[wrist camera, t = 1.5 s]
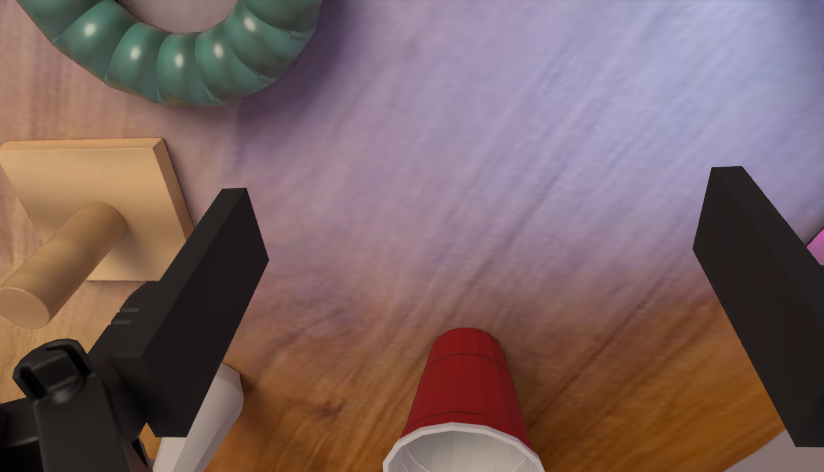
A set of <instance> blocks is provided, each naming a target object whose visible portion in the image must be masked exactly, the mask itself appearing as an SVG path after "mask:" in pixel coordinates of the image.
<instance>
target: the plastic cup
mask: <svg viewBox="0 0 824 472" xmlns="http://www.w3.org/2000/svg"><path fill="white" fill-rule="evenodd" d="M383 472H545V471H544V469H543V466H542V464H541V462H540V459H539V457H538V455H537V454H535V453H534V451H533V448H532V445H531V442H530V439H529V437H528V435H527V431H526V428H525V424H524V420H523V417H522V413H521V410H520V406H519V403H518V399H517V395H516V392H515V388H514V385H513V381H512V379H511V377H510V375H509V371H508V368H507V364H506V360H505V356H504V354H503V352H502V350H501V347H500V346H499V343H498V341H497V340H496V339H494V338H493V337H492V336H491V335H490V334H489V333H486V332H483V331H481V330H478V329H472V328H459V329H454V330H450V331H448V332H446V333H444V334H443V335H441V336H440V337H438V339H437V340H436V342H435V343H434V345H433V347H432V349H431V350H430V353H429V356H428V360H427V363H426V367H425V370H424V373H423V375H422V376H421V379H420V382H419V386H418V389H417V392H416V395H415V398H414V401H413V405H412V408H411V411H410V414H409V417H408V420H407V424H406V427H405V428H404V430H403V432H402V435H401V438H400V439H399V440H398V441H397V442H396V444H395V445H394V447H393V448H392V450H391V451H390V453H389V454H388V456H387V457H386V459H385V460H384V462H383Z"/></svg>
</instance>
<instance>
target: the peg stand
mask: <svg viewBox="0 0 824 472" xmlns="http://www.w3.org/2000/svg"><path fill="white" fill-rule="evenodd" d="M0 165H1V166H2V168H3V170H4V172H5V174H6V176H7V177H8V179H9V181H10V183H11V185H12V186H13V188H14V190H15V192H16V194H17V196H18V197H19V199H20V201H21V203H22V205H23V207H24V208H25V210H26V212H27V214H28V216H29V218H30V219H31V221H32V223H33V225H34V227H35V228H36V230H37V232H38V234H39V236H40V238H41V239H42V241H43V243H44V244H43V245H42V246H41V247H40V248H39V249H38V250H37V251H36V252H35V253H34V254H33V255H32V256H31V257H30V258H29V259H28V260H27V261H26V262H25V263H24V264H23V265H22V266H21V267H20V268H19V269H18V270H17V271H16V272H14V273H13V274H12V275H11V276H10V277H9V278H8V279H7V280H6V281H5V282H4V283H3V284H2V285H1V286H0V314H1V315H2V316H3V317H5V318H6V319H7V320H9V321H11V322H12V323H14V324H17V325H19V326H22V327H26V328H33V329H35V328H41V327H44V326H46V325H47V324H48V323H49V322H50V321H51V320H52V319H53V317H54V316H55V315H56V314H57V313H58V311H59V310H60V309H61V308H62V307H63V306H64V304H65V303H66V302H67V301H68V300H69V299H70V297H71V296H72V295H73V294H74V293H75V292H76V290H77V289H78V288H79V287H80V286H81V284H82V283H83V282H84V281H85V280H121V281H159V280H160V279H161V277H162V276H163V274H164V273H165V271H166V270H167V268H168V267H169V266H170V264H171V263H172V261H173V260H174V258H175V257H176V255H177V254H178V252H179V251H180V250H181V248H182V247H183V245H184V244H185V242H186V241H187V239H188V238H189V236H190V235H191V233H192V232H193V231H194V226H193V223H192V220H191V218H190V215H189V212H188V209H187V206H186V203H185V200H184V198H183V195H182V192H181V189H180V186H179V183H178V180H177V177H176V175H175V172H174V169H173V166H172V163H171V160H170V157H169V155H168V152H167V149H166V146H165V143H164V140H163V138H125V139H80V140H36V141H7V142H6V143H5V144H3V145H2V146H0Z"/></svg>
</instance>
